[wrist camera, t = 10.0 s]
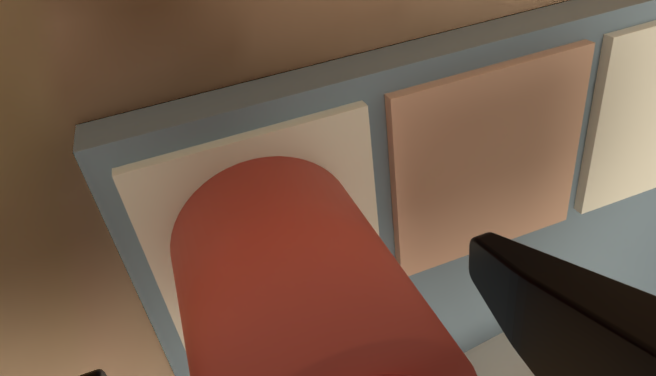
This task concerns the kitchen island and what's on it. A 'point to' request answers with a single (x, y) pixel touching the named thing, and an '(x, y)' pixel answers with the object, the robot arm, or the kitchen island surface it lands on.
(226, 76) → the kitchen island surface
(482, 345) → the beige cube
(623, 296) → the robot arm
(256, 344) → the pawn
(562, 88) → the board
